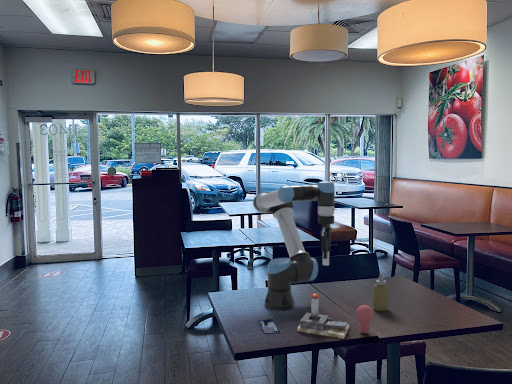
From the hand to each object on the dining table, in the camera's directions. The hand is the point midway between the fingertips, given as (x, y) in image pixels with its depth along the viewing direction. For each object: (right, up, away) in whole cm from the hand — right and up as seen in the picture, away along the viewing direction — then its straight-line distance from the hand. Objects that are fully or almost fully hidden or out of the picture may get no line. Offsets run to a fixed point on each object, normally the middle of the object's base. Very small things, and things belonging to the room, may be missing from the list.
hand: (325, 264), depth 193 cm
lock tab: (+2, -23, -16) cm, 29 cm away
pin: (-7, -24, -12) cm, 28 cm away
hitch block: (-3, -26, -14) cm, 29 cm away
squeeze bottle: (+28, -24, +9) cm, 38 cm away
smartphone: (-27, -26, -10) cm, 39 cm away
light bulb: (+13, -26, -18) cm, 34 cm away
